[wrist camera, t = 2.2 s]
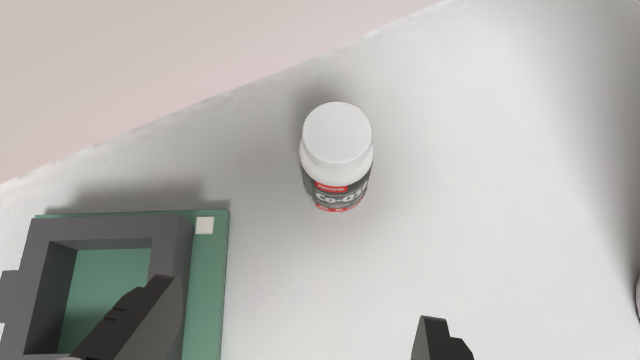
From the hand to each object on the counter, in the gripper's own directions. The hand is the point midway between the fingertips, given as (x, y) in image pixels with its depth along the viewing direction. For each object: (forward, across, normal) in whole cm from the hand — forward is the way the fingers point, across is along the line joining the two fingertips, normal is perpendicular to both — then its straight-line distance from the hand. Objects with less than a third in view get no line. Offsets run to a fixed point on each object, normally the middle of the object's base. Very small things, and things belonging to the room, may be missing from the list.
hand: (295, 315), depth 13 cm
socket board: (+10, +13, +10) cm, 20 cm away
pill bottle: (+18, 0, +3) cm, 18 cm away
